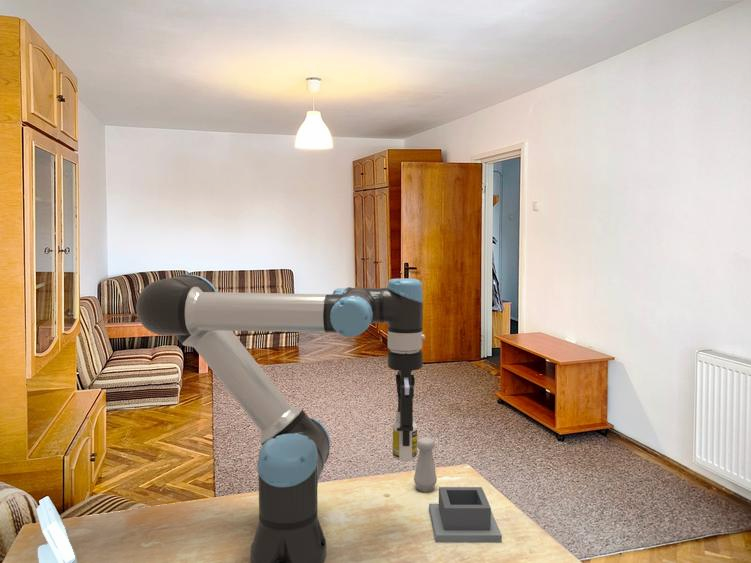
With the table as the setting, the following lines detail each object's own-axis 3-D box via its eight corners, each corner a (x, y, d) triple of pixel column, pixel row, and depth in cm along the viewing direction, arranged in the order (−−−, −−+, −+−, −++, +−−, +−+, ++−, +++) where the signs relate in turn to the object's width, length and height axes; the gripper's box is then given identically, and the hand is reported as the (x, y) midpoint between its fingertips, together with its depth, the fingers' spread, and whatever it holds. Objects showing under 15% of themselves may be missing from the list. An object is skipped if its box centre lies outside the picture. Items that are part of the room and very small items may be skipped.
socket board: (435, 542, 120) (436, 512, 119) (428, 509, 134) (429, 483, 133) (501, 542, 120) (502, 512, 119) (487, 509, 134) (488, 483, 133)
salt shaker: (440, 487, 146) (441, 438, 145) (430, 495, 141) (431, 445, 140) (420, 481, 149) (420, 433, 148) (409, 489, 144) (410, 440, 143)
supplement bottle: (415, 462, 122) (415, 418, 121) (390, 460, 123) (390, 416, 122) (418, 453, 127) (418, 410, 126) (394, 451, 128) (394, 409, 127)
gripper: (426, 359, 113) (425, 471, 115) (418, 341, 132) (418, 438, 134) (389, 359, 113) (389, 471, 115) (386, 341, 132) (386, 438, 134)
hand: (404, 453), depth 125 cm, fingers closed on supplement bottle, 5 cm apart
